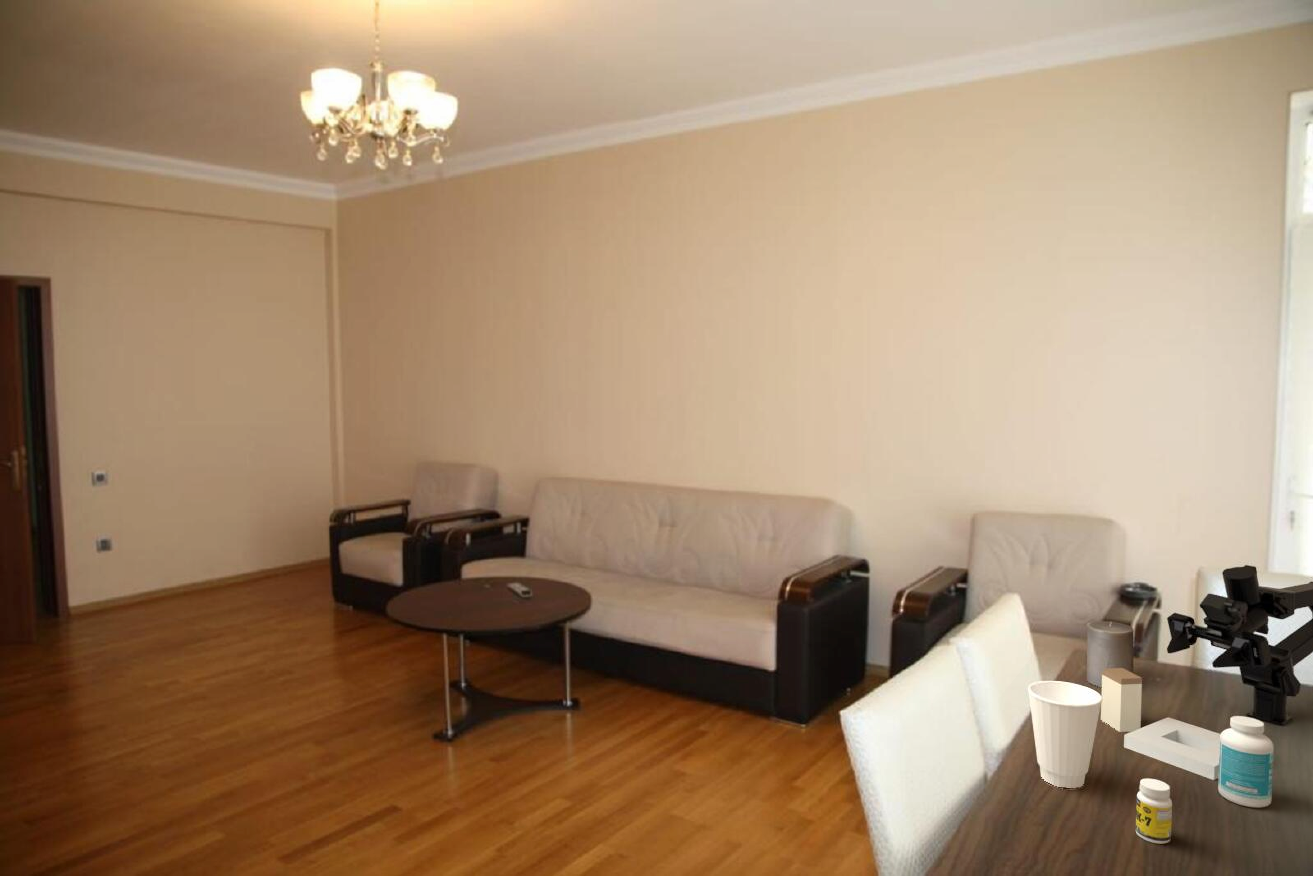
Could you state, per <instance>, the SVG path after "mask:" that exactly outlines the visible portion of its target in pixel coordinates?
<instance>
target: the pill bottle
mask: <svg viewBox="0 0 1313 876" xmlns="http://www.w3.org/2000/svg"><path fill="white" fill-rule="evenodd" d="M1229 722H1230V723H1229V725H1230V727H1229V728H1226V729H1224V730H1223V731H1222V732H1220V734H1221V735H1220V753H1219V778H1218V779H1217V780H1218V781H1217V782H1218V784H1217V785H1218V786H1217V787H1218V788H1217V790H1218V792H1219V794H1220V795H1221V796H1222V797H1223V798H1224V799H1226V800H1227V801H1230V802H1232V803H1234V804H1236V805H1239V806H1245V807H1248V808H1266V807H1268V806H1270V805H1271V803H1272V796H1273V795H1272V794H1273V792H1272V791H1273V773H1274V772H1273V771H1274V770H1273V768H1274V766H1273V765H1274V751H1275V749H1274V747H1275V746H1274V743H1273V742H1272V740H1271V739H1270V738H1269V737H1268V736H1266V735H1265V734H1264V732H1265V723H1264V722H1263V721H1262V720H1260V719H1256V718H1253V717H1249V716H1245V715H1244V716H1241V715H1233V716H1231V717H1230V720H1229Z"/></svg>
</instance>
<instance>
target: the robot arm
mask: <svg viewBox="0 0 1313 876" xmlns="http://www.w3.org/2000/svg"><path fill="white" fill-rule="evenodd" d="M1221 574H1222V579H1223V584H1224V588H1225V594H1226V596H1223V595H1218V594H1214V593H1207V594H1206V596H1205V597H1204V598H1203V600H1202V601H1201V602H1200V603H1199V607H1200V609H1202V611H1203V612H1204V615H1205V617H1204V618H1203V624H1204V625H1206V627H1205V626H1202V625H1198V624H1196V623H1195V619H1194V618H1193V617H1192V616H1189V615H1186V614H1181V613H1177V612H1173V613H1171V615H1169V616H1168V617H1166V619H1167V623H1168V629H1169V633H1170V641H1169V643H1168V645H1167V647H1166V651H1167V652H1166V653H1167V654H1174V653H1178V652H1181V651H1184V650H1187V649H1190V648H1191V646H1193V645H1195V644H1196V643H1197V641H1198V638H1199V639H1203V640H1207V641H1209V642H1210V645H1211V647H1215V648H1220V649H1223V650H1225V651H1223V652H1222V653H1221V654H1220V655H1218V656H1217V657H1216V658H1215V659H1214V660H1213V661H1212V662H1211V664H1212V667H1213V668H1215V669H1216V668H1217V669H1218V668H1234V667H1235V668H1237V667H1238V668H1239V672H1240V677H1241V681H1242V684H1243V685H1248V686H1250V687H1253V693H1252V709H1251V710H1249V711H1247V712H1246V713H1245V717H1249V718H1253V719H1256V720H1259V721H1265V722H1268V723H1272V724H1276V725H1279V726H1283V725H1285V724H1286V723H1288V722H1289V721H1290V719H1291V720H1292V719H1293V715H1291V714H1287V705H1288V704H1287V702H1288V697H1291V698H1292V697H1294V698H1295V697H1297V695H1298V694H1300V691H1301V686H1302V684H1301V682H1300V681H1299V680H1298V678H1297V677H1296V675H1295V669H1294V668H1295V666H1296V665H1297V664H1298V663H1300V662H1301V661H1303V660H1305V659H1306V658H1307V657H1308V656H1310V655H1311V654H1312V653H1313V581H1309V583H1304V584H1303V583H1301V584H1299V585H1298V584H1296V585H1292V586H1288V587H1281V588H1276V587H1269V586H1262V585H1260V583H1259V580H1258V579H1259V578H1258V571H1257V567H1256V566H1254V565H1248V564H1245V565H1243V566H1235V567H1234V566H1233V567H1230V568H1228V567H1227V568H1225V569H1224V570H1223V571H1222V573H1221ZM1302 608H1308V609H1309V610H1310V611H1311V615H1312V617H1311V619H1310V620H1308V621H1307V622H1306V623H1304V624H1303V625H1301V626H1300V627H1299V628H1297V629H1296V630H1295V631H1293V632H1291V634H1289V635H1288V636H1286V637H1285V638H1283V639H1282V640H1281V641H1279V642H1278V643H1276V644H1275V645H1272V644H1269V640H1268V638H1267V637H1266V636H1264V635H1268V634H1269V618H1273V619H1278V620H1286V619H1288V618H1290V617H1292V616H1293V615H1295V612H1296V611H1295V610H1297V609H1299V610H1300V609H1302ZM1257 633H1258V634H1257ZM1261 634H1263V635H1261Z"/></svg>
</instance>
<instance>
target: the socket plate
mask: <svg viewBox="0 0 1313 876" xmlns="http://www.w3.org/2000/svg"><path fill="white" fill-rule="evenodd" d="M1220 735H1221V733H1219V732H1215V731H1213V730H1210V729H1205V728H1203V727H1200V726H1196V725H1193V724H1190V723H1186V722H1185V721H1181V720H1179V719H1178V720H1177V719H1174V718H1171V717H1169V716H1167V717H1165V718H1163V719H1160V720H1158V721H1155V722H1153V723H1150V724H1147V725H1145V726H1143V727H1140V729H1137V730H1135V731H1130V732H1128V733H1127V732H1126V733H1125V734H1124V736H1123V747H1124V748H1125V749H1128V750H1131V751H1133V752H1135V753H1139V754H1141V755H1144V756H1146V757H1150V758H1152V759H1155V760H1158V761H1160V762H1163V763H1166V764H1168V765H1172V766H1174V767H1177V768H1180V769H1182V770H1185V771H1188V772H1191V773H1193V774H1196V775H1198V776H1201V777H1204V778H1207V779H1208V780H1209V779H1210V780H1212V781H1215V780H1218V779H1219V753H1220Z"/></svg>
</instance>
